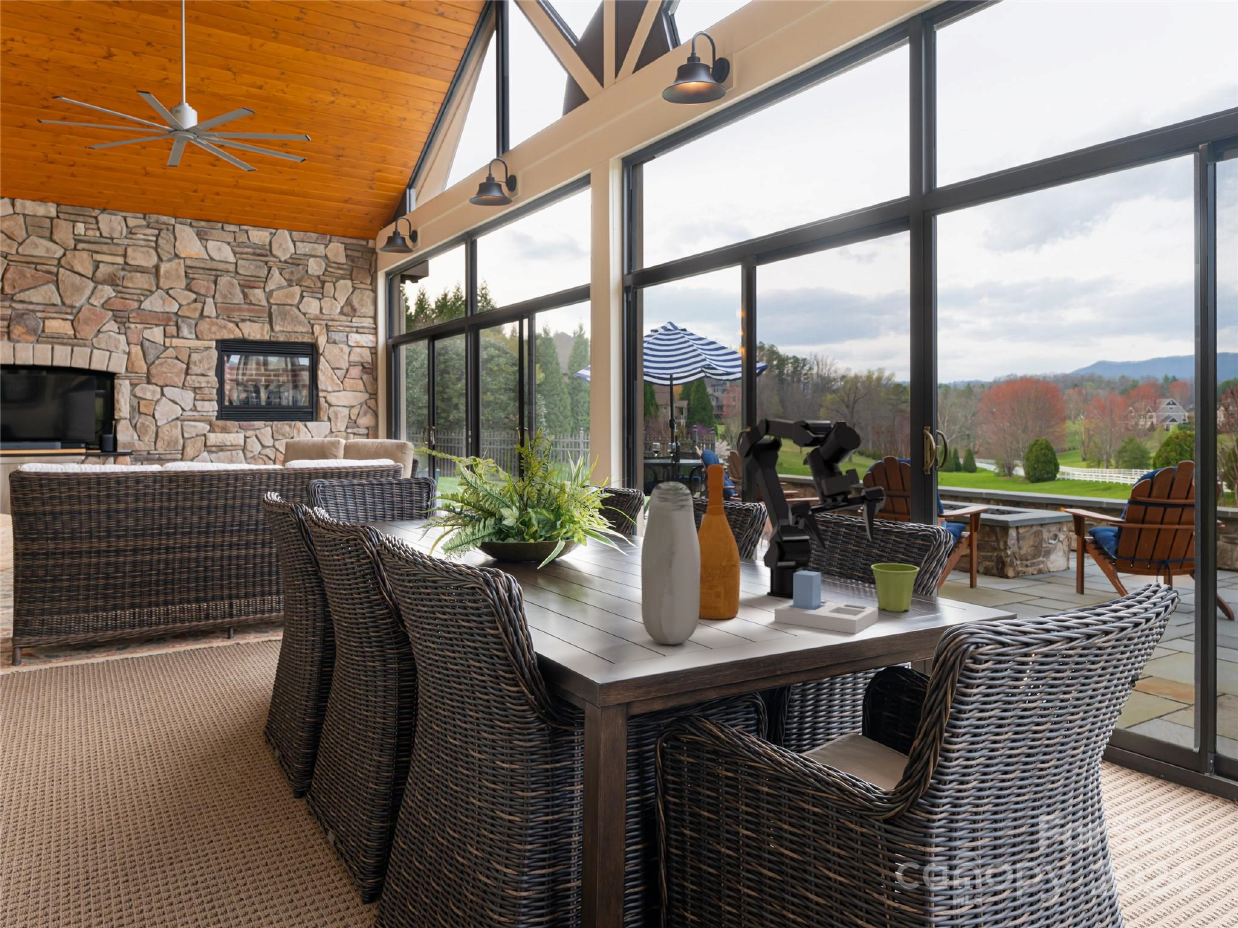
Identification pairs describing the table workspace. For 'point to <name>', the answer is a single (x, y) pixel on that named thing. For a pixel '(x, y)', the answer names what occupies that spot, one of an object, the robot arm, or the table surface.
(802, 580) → the plug
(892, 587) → the plant pot
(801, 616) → the white socket block
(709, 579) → the wine bottle
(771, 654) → the table surface
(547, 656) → the table surface
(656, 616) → the grey vase
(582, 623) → the table surface
